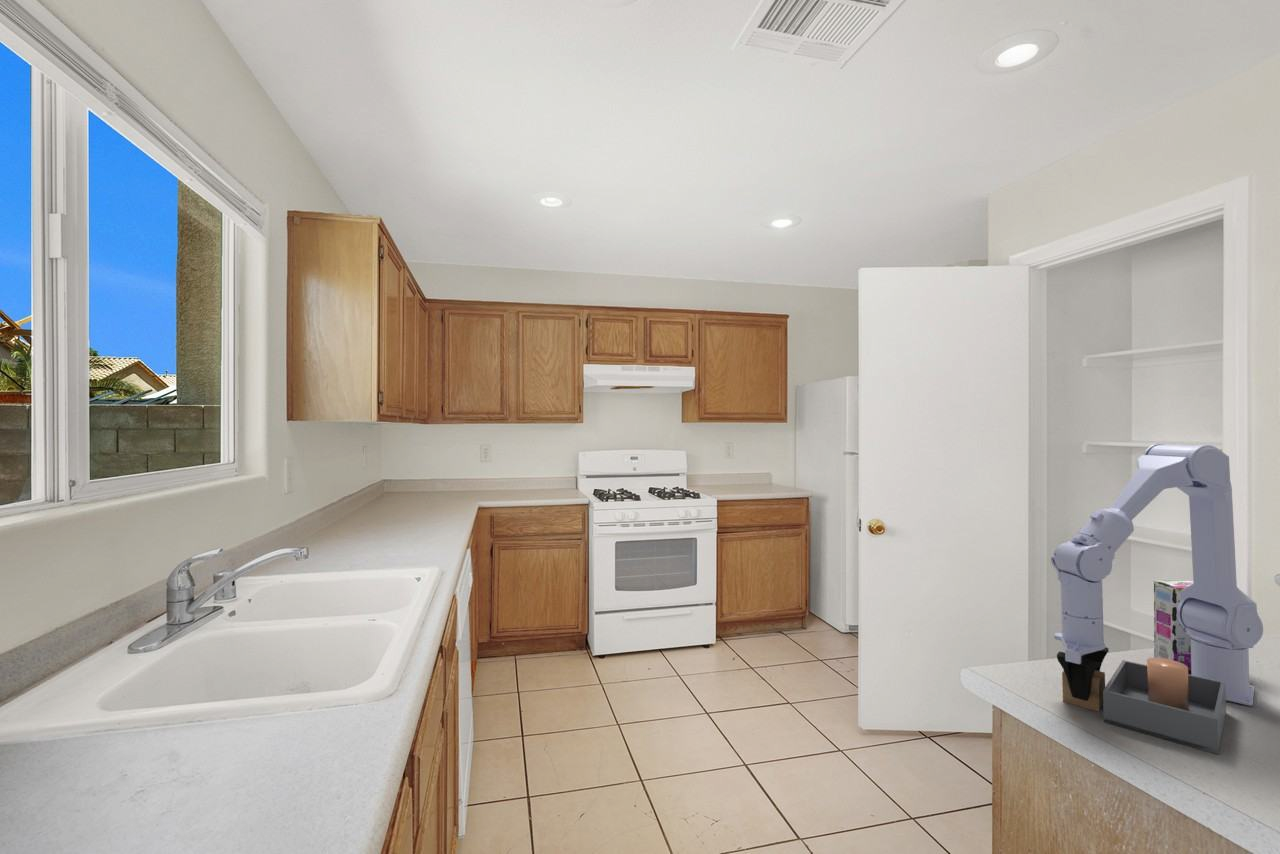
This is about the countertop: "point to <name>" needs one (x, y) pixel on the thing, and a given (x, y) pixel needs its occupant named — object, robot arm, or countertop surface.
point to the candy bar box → (1170, 623)
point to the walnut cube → (1095, 694)
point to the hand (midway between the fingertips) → (1084, 692)
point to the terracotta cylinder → (1168, 683)
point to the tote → (1166, 709)
